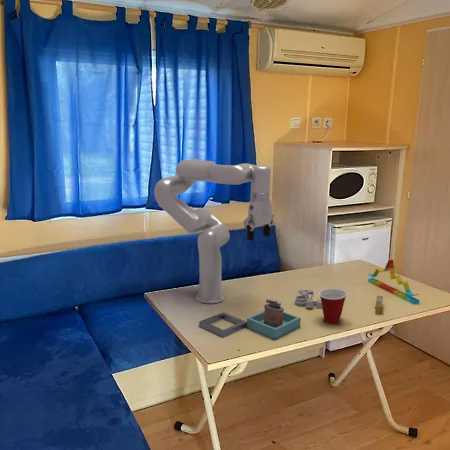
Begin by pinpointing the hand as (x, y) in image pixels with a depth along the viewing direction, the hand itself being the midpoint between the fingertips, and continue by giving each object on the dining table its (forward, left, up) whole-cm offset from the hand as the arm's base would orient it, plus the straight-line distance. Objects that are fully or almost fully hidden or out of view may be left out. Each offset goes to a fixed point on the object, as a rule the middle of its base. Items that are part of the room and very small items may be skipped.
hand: (258, 238), depth 195 cm
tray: (+18, -11, -30) cm, 36 cm away
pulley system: (+13, +21, -31) cm, 39 cm away
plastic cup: (+30, +10, -30) cm, 44 cm away
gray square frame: (+4, -24, -30) cm, 38 cm away
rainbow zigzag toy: (+32, +58, -31) cm, 73 cm away
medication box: (+37, +35, -30) cm, 59 cm away
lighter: (+18, -11, -29) cm, 36 cm away
